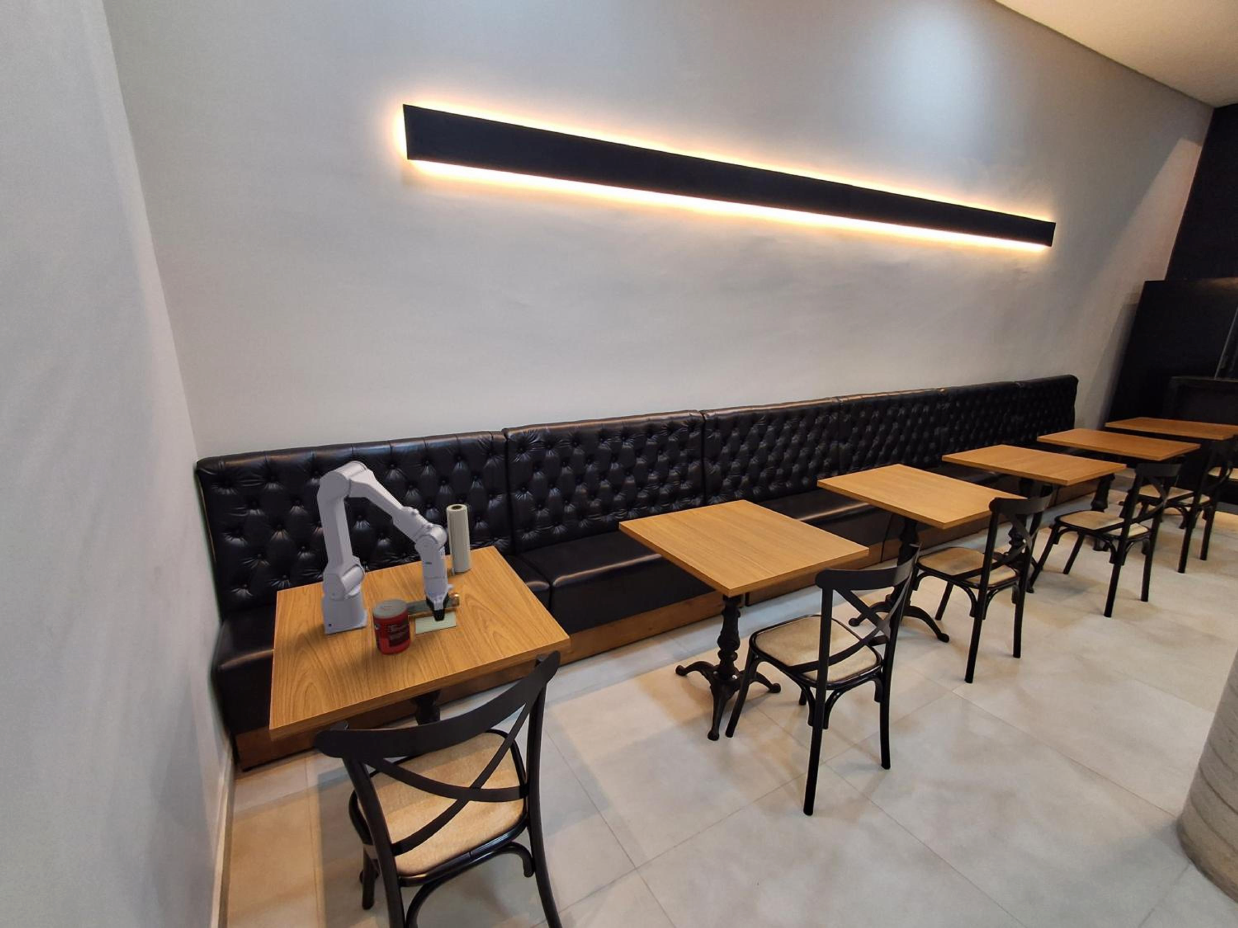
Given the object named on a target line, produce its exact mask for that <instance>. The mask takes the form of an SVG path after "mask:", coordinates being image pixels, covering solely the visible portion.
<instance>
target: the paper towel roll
mask: <svg viewBox="0 0 1238 928" xmlns="http://www.w3.org/2000/svg"><path fill="white" fill-rule="evenodd" d="M445 510H446V518H447V520H446V521H447V531H448V533H447V534H448V542H449V543H448V544H449V553H450V564H451V572H452V574H453V576H455V573H464V572H467V571H469V570H471V568H472V557H471V545H470V531H469V519H468V518H469V517H468V507H467V505H465V504H459V503H457V504H452V505H448V507H446V509H445Z"/></svg>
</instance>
